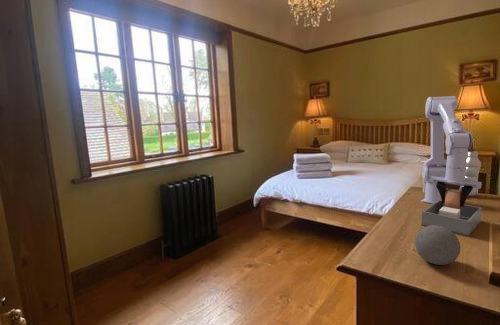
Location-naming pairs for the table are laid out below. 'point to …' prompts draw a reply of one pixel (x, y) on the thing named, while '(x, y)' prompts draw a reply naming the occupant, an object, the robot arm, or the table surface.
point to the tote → (462, 226)
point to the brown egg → (453, 198)
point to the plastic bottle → (472, 170)
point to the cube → (450, 212)
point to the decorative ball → (437, 245)
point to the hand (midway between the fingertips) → (452, 204)
